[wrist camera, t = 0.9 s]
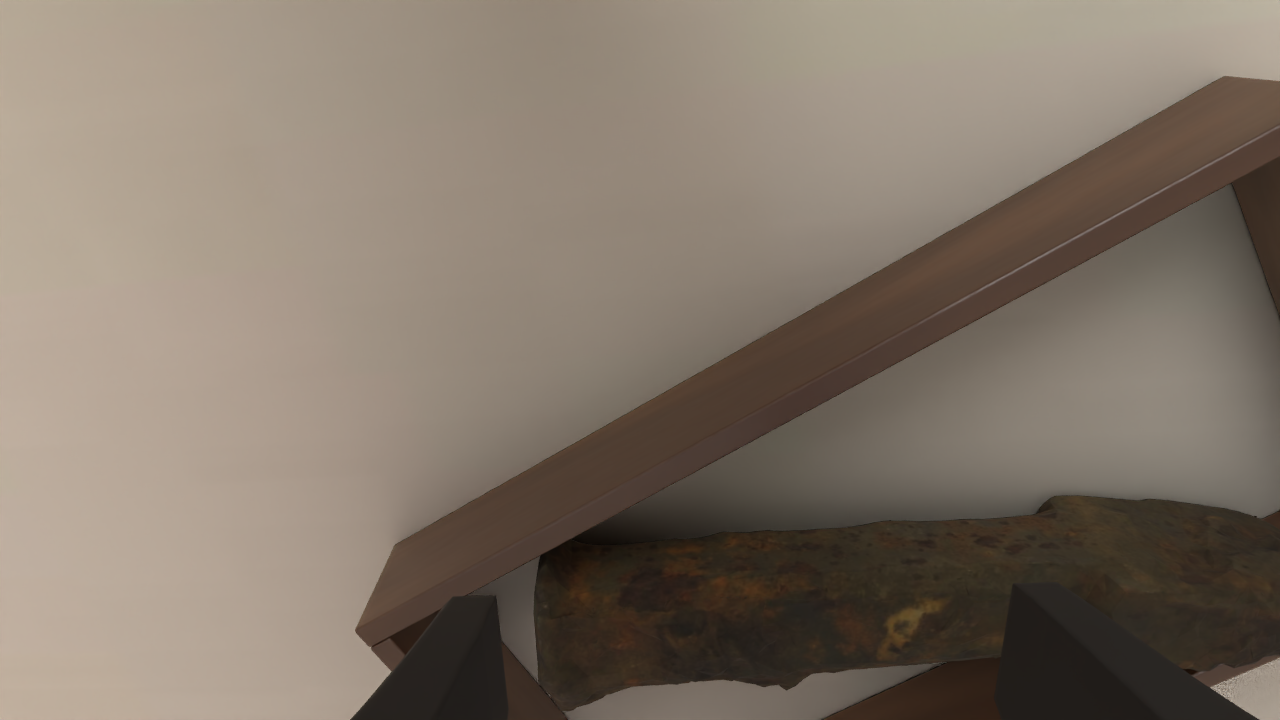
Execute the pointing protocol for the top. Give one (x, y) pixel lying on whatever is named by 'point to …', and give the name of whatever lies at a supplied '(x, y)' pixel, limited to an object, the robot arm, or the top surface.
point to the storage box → (852, 376)
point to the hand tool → (899, 594)
